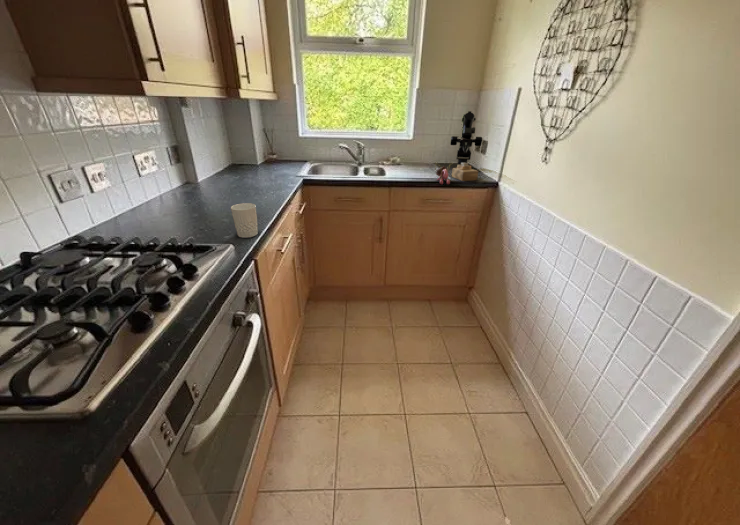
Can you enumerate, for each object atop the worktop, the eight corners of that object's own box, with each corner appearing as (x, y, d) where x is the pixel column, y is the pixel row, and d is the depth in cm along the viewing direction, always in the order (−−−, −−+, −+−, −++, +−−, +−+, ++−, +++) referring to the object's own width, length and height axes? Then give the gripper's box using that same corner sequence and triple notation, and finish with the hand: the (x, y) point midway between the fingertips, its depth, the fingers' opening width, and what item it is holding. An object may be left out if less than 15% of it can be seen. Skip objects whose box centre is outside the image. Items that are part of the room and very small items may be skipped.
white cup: (243, 240, 110) (238, 211, 105) (231, 234, 114) (226, 206, 110) (264, 234, 115) (260, 206, 111) (252, 228, 120) (247, 201, 115)
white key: (460, 165, 198) (461, 162, 197) (465, 165, 199) (465, 162, 198) (463, 166, 196) (463, 163, 195) (467, 166, 196) (468, 163, 196)
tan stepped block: (451, 176, 201) (452, 165, 198) (465, 175, 204) (467, 164, 201) (462, 181, 191) (463, 168, 188) (477, 180, 194) (478, 167, 191)
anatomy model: (437, 180, 178) (436, 155, 182) (433, 192, 191) (432, 169, 195) (456, 180, 178) (455, 155, 182) (450, 192, 191) (449, 169, 195)
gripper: (452, 122, 202) (450, 143, 197) (484, 122, 198) (483, 144, 194) (451, 134, 212) (449, 155, 208) (481, 135, 209) (480, 156, 204)
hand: (465, 152), depth 203 cm, fingers closed
